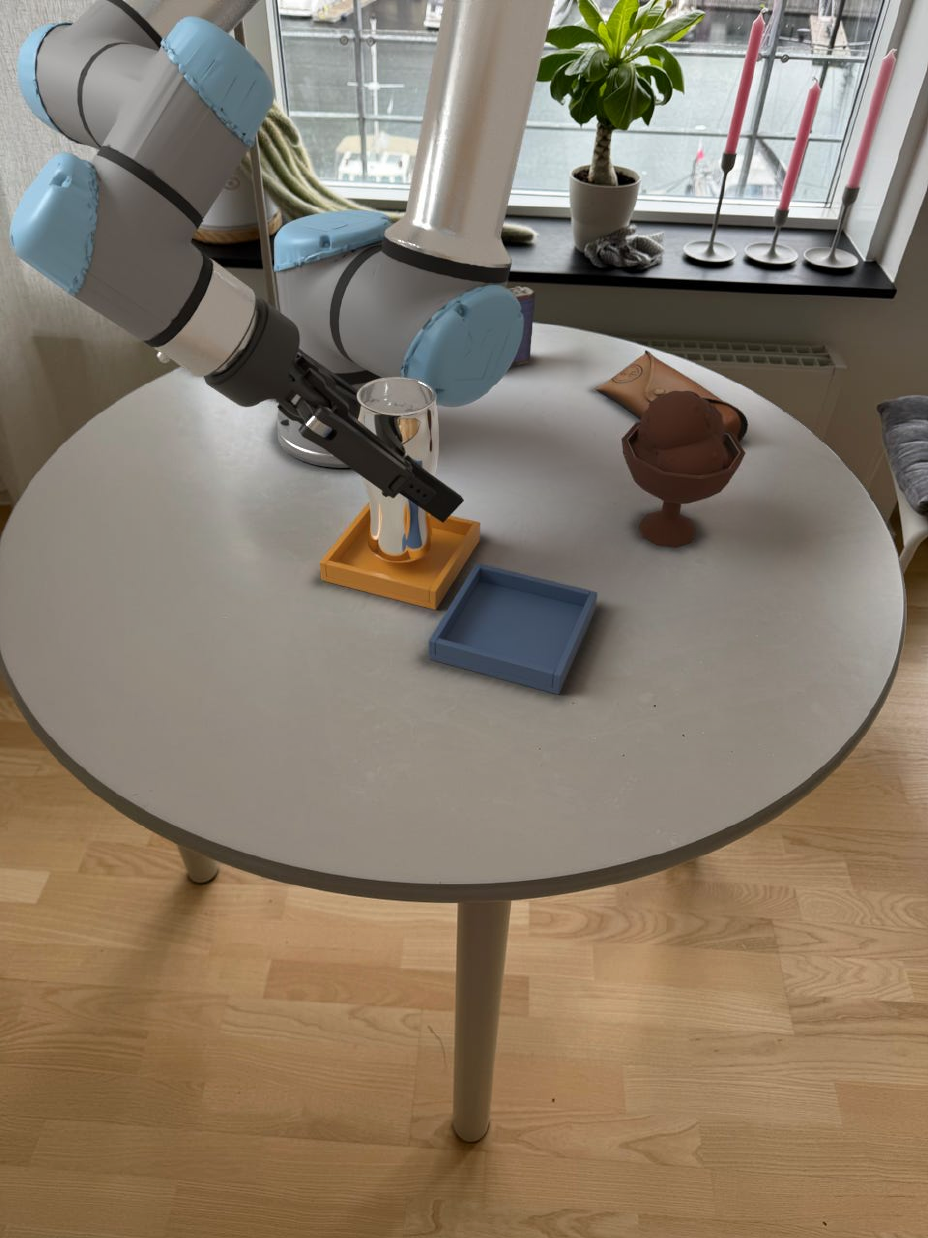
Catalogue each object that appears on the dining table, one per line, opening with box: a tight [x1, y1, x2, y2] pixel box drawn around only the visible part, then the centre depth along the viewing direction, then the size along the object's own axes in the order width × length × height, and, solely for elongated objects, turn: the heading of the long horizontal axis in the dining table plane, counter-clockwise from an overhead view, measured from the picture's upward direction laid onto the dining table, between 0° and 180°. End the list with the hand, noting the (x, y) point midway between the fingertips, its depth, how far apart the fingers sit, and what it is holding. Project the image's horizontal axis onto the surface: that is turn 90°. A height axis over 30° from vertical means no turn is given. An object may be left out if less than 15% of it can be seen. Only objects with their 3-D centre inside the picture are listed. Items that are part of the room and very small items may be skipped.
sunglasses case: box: [595, 349, 749, 443], centre depth 111 cm, size 18×7×7 cm
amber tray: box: [319, 501, 481, 611], centre depth 89 cm, size 11×11×2 cm
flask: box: [506, 285, 536, 368], centre depth 117 cm, size 9×3×11 cm, turn 121°
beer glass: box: [356, 377, 440, 563], centre depth 84 cm, size 7×7×15 cm
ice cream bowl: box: [621, 391, 746, 548], centre depth 89 cm, size 11×11×15 cm
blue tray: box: [428, 562, 598, 695], centre depth 82 cm, size 11×11×2 cm
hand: (437, 486), depth 86 cm, fingers closed on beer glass, 7 cm apart
